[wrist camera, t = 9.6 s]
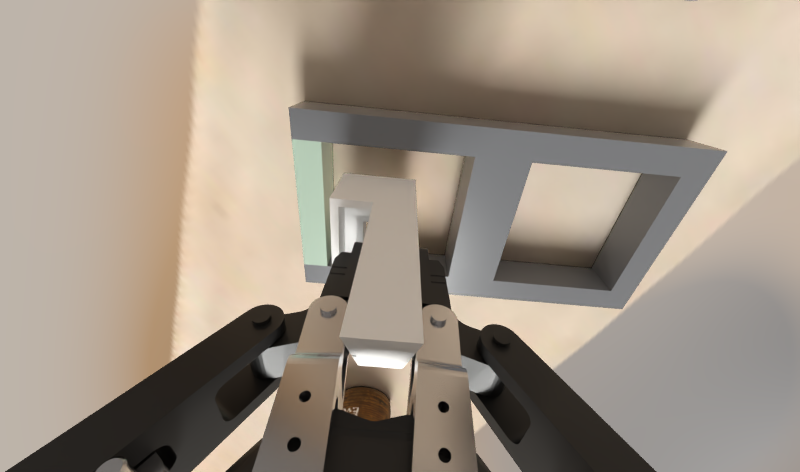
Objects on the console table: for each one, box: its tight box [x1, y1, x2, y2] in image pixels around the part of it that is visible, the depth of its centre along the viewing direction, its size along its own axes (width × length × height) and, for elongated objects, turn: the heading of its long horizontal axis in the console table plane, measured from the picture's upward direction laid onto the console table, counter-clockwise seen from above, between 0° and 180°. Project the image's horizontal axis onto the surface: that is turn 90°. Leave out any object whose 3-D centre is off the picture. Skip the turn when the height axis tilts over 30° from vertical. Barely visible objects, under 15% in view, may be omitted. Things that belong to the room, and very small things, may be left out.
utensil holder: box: [343, 387, 390, 421], centre depth 27 cm, size 6×6×12 cm
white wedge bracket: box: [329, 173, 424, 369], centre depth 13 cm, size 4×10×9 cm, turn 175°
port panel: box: [289, 101, 727, 309], centre depth 18 cm, size 11×22×2 cm, turn 85°
